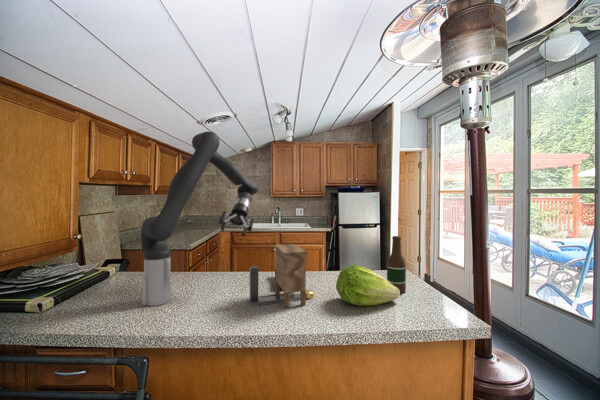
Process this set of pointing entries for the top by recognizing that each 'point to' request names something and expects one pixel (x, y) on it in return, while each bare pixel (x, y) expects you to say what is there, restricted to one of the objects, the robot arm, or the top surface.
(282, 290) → the hand tool
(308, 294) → the brass puck
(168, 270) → the robot arm
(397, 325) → the top surface
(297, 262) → the walnut cabinet
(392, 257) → the beer bottle
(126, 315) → the top surface
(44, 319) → the top surface
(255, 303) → the grey l-shaped bracket
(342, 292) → the lettuce
